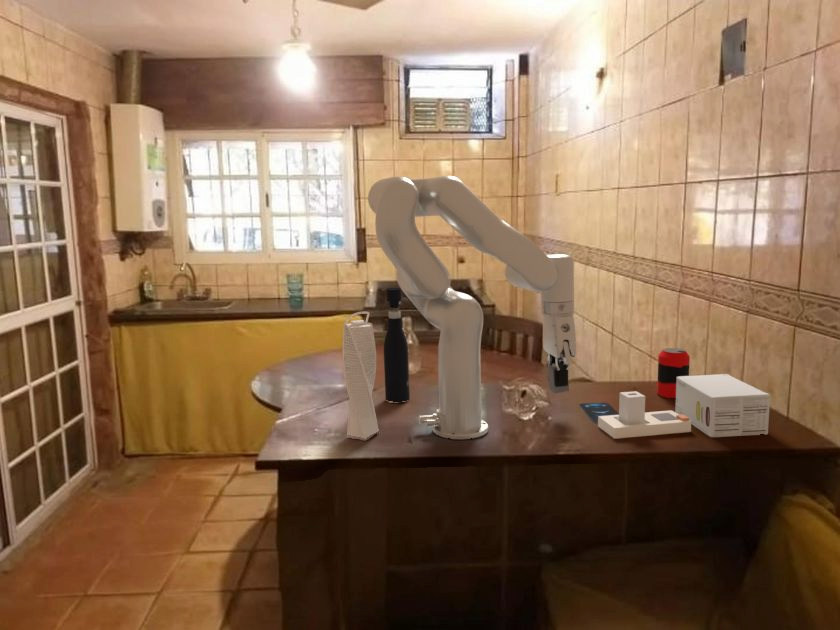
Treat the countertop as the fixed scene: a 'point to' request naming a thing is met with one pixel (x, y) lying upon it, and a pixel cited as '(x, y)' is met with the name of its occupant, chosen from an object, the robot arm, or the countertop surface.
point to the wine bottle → (395, 352)
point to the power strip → (646, 425)
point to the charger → (631, 408)
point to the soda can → (671, 370)
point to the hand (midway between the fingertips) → (558, 383)
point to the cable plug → (552, 383)
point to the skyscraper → (360, 375)
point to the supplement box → (722, 405)
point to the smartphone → (598, 410)
